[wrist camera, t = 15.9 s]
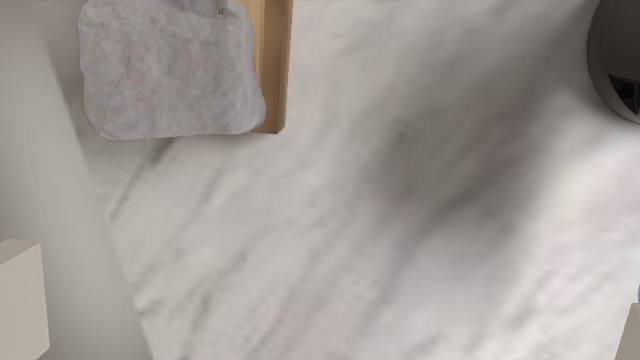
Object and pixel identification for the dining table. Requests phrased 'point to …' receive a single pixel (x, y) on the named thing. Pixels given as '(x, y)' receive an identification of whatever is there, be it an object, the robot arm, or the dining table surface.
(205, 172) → the dining table surface
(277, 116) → the tower base block
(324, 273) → the dining table surface
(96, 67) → the stone block
